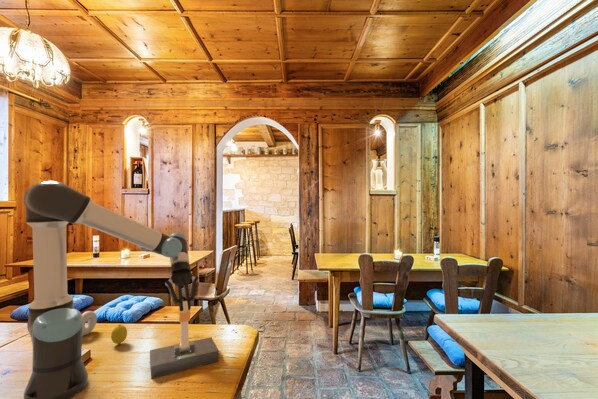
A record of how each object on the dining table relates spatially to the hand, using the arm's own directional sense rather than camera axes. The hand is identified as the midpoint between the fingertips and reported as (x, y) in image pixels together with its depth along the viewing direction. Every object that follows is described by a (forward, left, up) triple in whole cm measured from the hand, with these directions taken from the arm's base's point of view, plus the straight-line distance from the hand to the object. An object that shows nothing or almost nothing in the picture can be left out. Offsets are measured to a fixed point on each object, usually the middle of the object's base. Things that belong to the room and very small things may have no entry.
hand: (186, 318), depth 110 cm
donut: (-35, +40, -14) cm, 55 cm away
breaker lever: (-1, -3, -10) cm, 10 cm away
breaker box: (-1, -3, -14) cm, 15 cm away
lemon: (-22, +23, -14) cm, 35 cm away
